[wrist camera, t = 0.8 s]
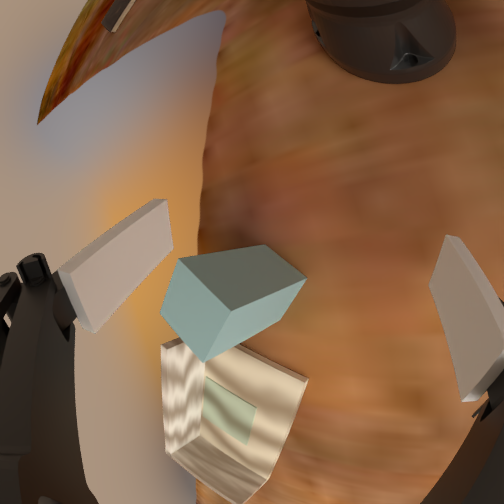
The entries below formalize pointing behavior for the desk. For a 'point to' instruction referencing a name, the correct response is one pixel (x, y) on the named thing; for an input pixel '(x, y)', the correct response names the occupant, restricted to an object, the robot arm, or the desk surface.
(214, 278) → the teal block
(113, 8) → the hardcover book
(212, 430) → the arena
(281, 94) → the desk surface
